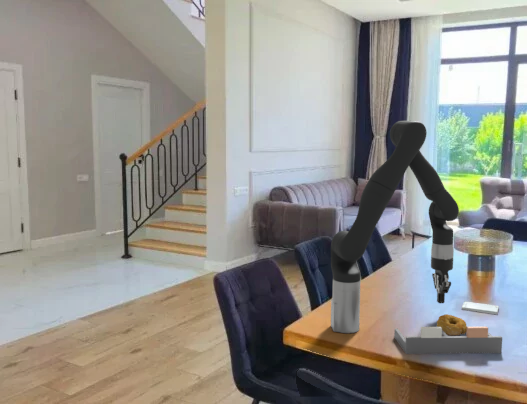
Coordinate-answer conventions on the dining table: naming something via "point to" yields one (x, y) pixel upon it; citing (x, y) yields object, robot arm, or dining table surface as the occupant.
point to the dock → (450, 342)
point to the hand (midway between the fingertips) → (440, 302)
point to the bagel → (452, 325)
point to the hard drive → (480, 307)
